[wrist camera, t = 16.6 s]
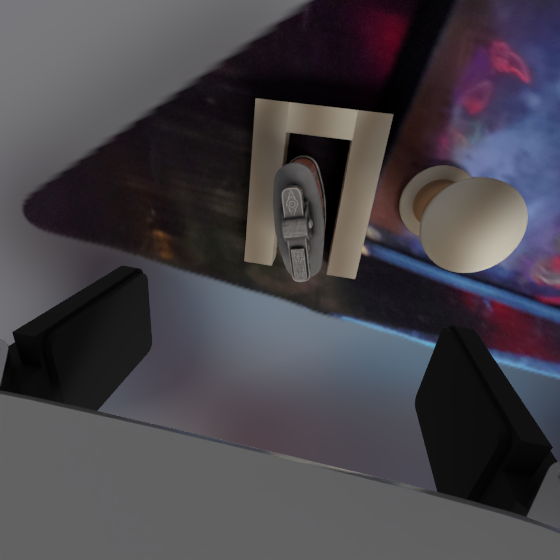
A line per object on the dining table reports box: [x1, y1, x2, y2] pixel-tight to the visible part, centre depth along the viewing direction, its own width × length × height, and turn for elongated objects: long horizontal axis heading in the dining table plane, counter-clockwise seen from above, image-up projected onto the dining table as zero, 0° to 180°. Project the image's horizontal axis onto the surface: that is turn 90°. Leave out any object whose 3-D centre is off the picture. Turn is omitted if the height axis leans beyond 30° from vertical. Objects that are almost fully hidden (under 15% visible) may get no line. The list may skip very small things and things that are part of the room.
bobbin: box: [399, 165, 528, 273], centre depth 24 cm, size 6×6×8 cm
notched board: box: [245, 98, 393, 279], centre depth 27 cm, size 10×13×2 cm
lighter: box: [273, 155, 326, 282], centre depth 25 cm, size 8×3×10 cm, turn 8°
